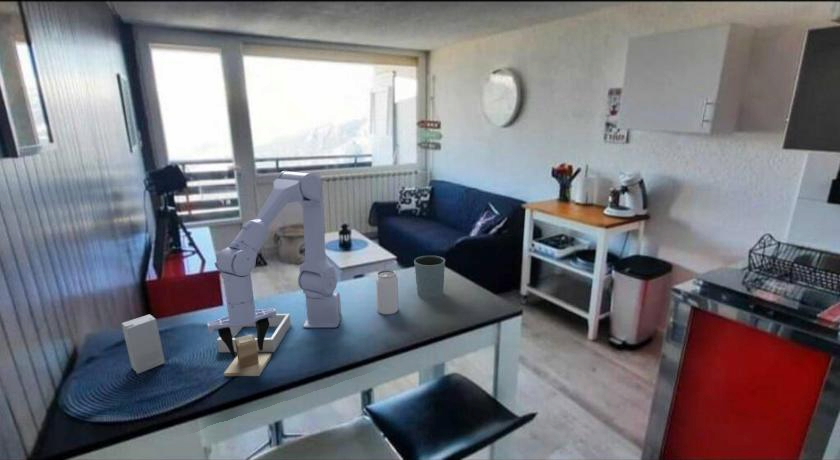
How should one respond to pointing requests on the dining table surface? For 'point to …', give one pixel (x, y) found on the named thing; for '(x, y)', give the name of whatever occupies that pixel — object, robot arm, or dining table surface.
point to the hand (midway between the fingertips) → (247, 352)
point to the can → (387, 292)
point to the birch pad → (248, 371)
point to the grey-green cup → (429, 276)
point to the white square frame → (269, 343)
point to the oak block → (246, 351)
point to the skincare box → (143, 343)
